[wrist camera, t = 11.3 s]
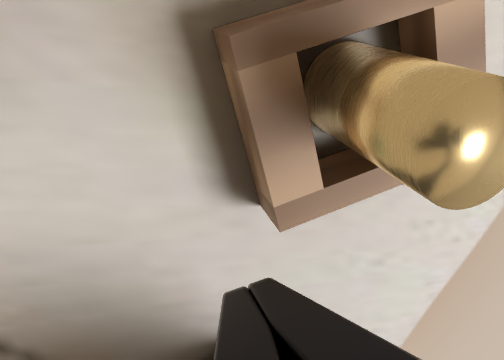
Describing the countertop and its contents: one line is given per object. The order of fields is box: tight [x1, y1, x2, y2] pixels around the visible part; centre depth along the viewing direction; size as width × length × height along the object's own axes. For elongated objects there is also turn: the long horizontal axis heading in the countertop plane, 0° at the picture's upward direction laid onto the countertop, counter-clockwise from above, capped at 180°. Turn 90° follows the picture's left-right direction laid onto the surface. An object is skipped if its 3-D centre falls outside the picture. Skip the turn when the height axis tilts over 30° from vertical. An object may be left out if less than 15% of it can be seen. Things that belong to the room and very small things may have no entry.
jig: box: [212, 0, 486, 232], centre depth 19 cm, size 8×10×2 cm
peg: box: [303, 41, 504, 210], centre depth 17 cm, size 4×4×8 cm
